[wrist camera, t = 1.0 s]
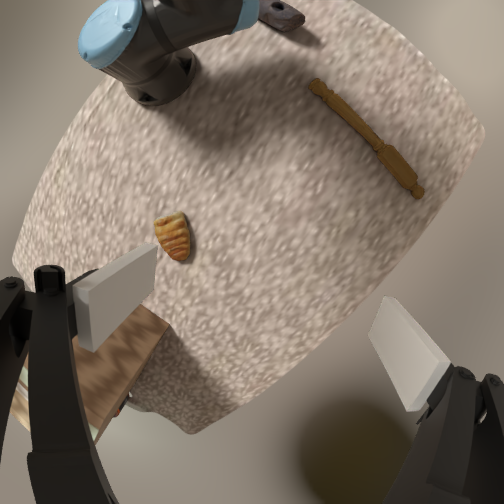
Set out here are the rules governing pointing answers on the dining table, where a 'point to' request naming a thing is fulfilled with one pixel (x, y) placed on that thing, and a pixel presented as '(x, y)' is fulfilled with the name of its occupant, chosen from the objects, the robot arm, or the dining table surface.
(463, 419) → the robot arm
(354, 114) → the wooden spindle
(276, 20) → the perforated stone tool
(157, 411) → the dining table surface
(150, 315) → the brown wavy patterned box
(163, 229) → the pastry
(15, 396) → the beech bar
